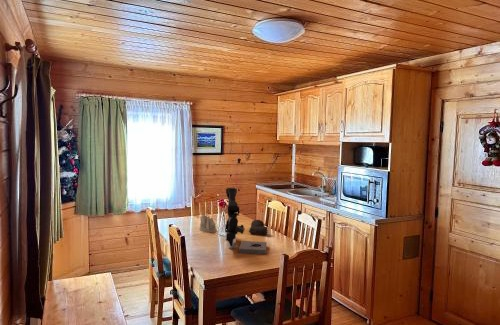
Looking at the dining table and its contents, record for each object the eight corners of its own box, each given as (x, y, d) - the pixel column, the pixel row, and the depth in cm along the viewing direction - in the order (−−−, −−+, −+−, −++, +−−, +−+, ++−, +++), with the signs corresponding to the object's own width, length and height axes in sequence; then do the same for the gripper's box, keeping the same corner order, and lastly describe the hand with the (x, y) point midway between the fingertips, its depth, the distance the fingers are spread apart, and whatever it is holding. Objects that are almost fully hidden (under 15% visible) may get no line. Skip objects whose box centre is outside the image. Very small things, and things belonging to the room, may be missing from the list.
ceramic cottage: (209, 233, 281) (209, 214, 281) (195, 230, 291) (196, 212, 291) (222, 230, 292) (223, 212, 293) (209, 227, 303) (210, 210, 303)
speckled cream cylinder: (228, 248, 243) (228, 237, 242) (229, 246, 248) (229, 235, 247) (235, 249, 242) (235, 238, 242) (236, 247, 247) (236, 236, 247)
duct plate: (238, 253, 235) (239, 248, 234) (241, 244, 253) (241, 240, 252) (265, 254, 233) (265, 250, 233) (266, 246, 251) (266, 242, 251)
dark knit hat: (265, 227, 275) (268, 219, 289) (247, 227, 278) (250, 219, 292) (266, 238, 277) (269, 230, 291) (248, 238, 280) (251, 230, 295)
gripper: (242, 226, 234) (242, 248, 235) (245, 219, 252) (244, 240, 254) (226, 225, 235) (225, 248, 236) (230, 219, 253) (229, 240, 254)
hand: (232, 244), depth 245 cm, fingers open, 9 cm apart
